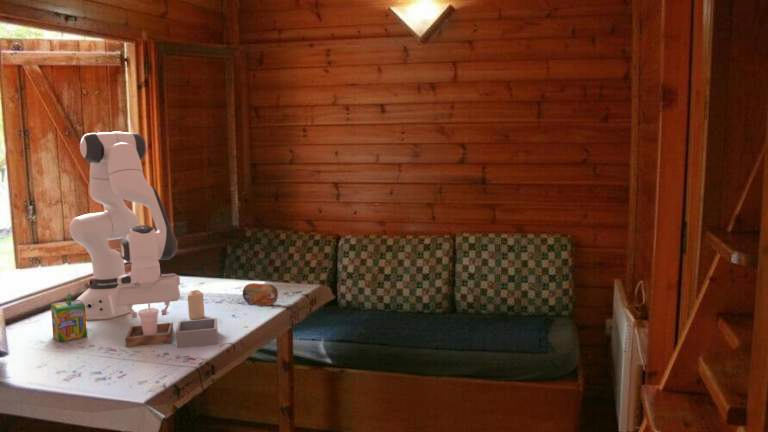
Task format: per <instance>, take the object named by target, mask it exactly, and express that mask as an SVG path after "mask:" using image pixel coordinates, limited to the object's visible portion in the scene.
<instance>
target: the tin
mask: <svg viewBox="0 0 768 432" xmlns="http://www.w3.org/2000/svg"><path fill="white" fill-rule="evenodd" d="M242 289H243V290H242V297H243V299H244V302H245V303H247V304H248V305H252V306H253V305H255V306H265V307H266V306H267V307H268V306H271V305H273V304H275V303H276V302H277V300H278V298H279V293H278V289H277V288H276V286H274V285H273V284H271V283H258V282H257V283H248V284H246V285H245V286H244V288H242Z"/></svg>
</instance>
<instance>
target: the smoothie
mask: <svg viewBox="0 0 768 432" xmlns="http://www.w3.org/2000/svg"><path fill="white" fill-rule="evenodd" d="M147 305H148V308H143V309H140V310H138V311H137V316H139V319H140V325H142V329H143V334H142V335H143V336H148V335H158V333H157V324H158V316H159V312H160V311H159V309H158V308H156V307H154V308H153V307H151V303H148V304H147Z"/></svg>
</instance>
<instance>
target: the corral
mask: <svg viewBox="0 0 768 432" xmlns="http://www.w3.org/2000/svg"><path fill="white" fill-rule="evenodd" d="M173 334H174V323H173V322H163V323H157V335H148V336H144V334H143V329H142V325H141V324H140V325H131V326H130V328H129V330H128V332H127V334H126V336H125V338H124V339H125V348H132V347H143V346H144V347H145V346H154V345H165V344H171V341H172V337H173Z"/></svg>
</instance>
